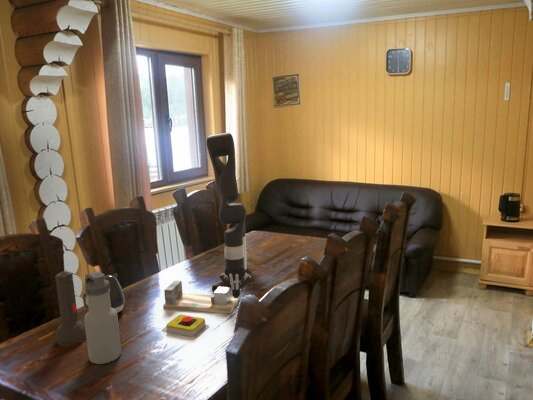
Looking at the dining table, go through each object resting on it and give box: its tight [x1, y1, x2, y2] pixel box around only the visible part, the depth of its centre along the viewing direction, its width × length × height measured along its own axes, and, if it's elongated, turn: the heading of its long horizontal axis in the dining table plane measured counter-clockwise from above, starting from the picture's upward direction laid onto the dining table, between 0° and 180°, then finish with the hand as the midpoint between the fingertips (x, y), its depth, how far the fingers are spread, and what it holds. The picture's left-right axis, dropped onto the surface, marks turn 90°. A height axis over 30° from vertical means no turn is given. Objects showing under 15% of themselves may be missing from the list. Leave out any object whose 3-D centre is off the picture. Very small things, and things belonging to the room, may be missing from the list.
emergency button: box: [161, 314, 210, 338], centre depth 156 cm, size 9×4×15 cm
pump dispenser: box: [105, 272, 126, 314], centre depth 170 cm, size 10×10×15 cm
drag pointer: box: [209, 293, 214, 308], centre depth 172 cm, size 10×1×3 cm, turn 167°
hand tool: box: [211, 277, 230, 294], centre depth 193 cm, size 19×4×5 cm, turn 146°
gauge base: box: [162, 280, 240, 314], centre depth 175 cm, size 12×28×8 cm, turn 77°
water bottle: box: [82, 271, 122, 365], centre depth 137 cm, size 10×10×28 cm
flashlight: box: [54, 270, 86, 347], centre depth 149 cm, size 10×25×10 cm
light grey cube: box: [213, 287, 232, 305], centre depth 173 cm, size 6×5×5 cm
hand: (236, 297), depth 172 cm, fingers closed
